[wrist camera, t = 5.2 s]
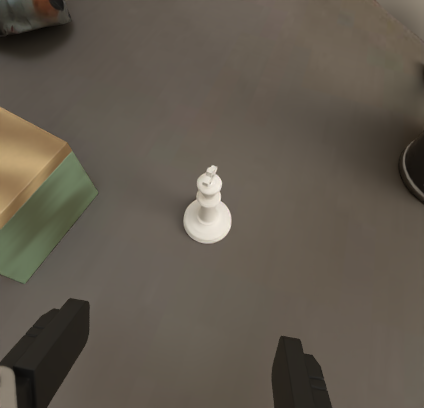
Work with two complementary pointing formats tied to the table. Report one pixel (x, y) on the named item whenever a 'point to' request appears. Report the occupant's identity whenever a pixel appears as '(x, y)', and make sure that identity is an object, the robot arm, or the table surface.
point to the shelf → (36, 194)
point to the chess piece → (207, 211)
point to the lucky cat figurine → (31, 15)
